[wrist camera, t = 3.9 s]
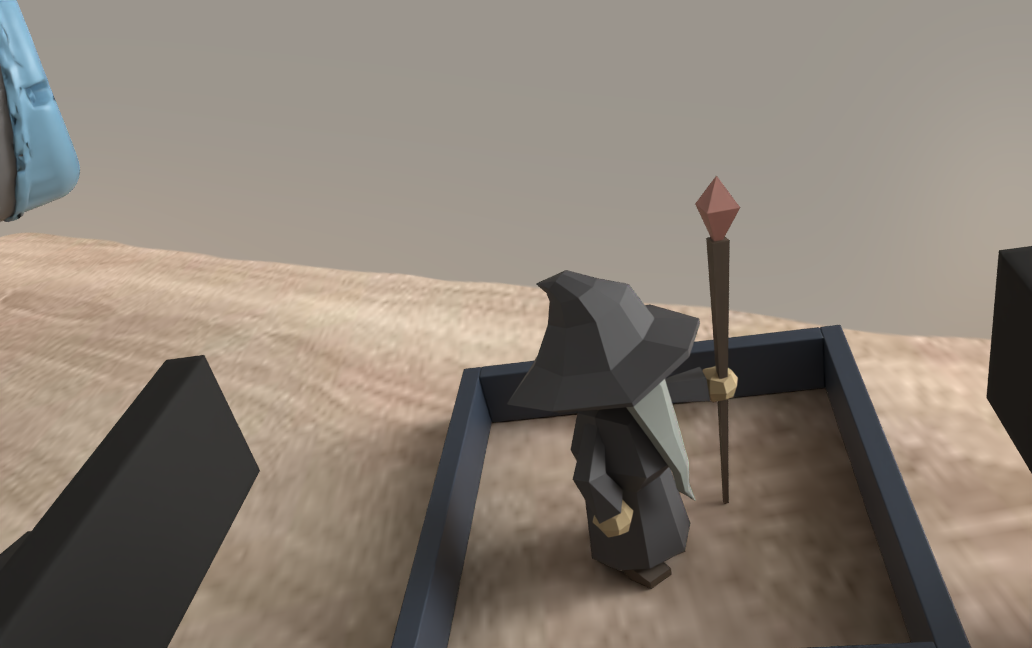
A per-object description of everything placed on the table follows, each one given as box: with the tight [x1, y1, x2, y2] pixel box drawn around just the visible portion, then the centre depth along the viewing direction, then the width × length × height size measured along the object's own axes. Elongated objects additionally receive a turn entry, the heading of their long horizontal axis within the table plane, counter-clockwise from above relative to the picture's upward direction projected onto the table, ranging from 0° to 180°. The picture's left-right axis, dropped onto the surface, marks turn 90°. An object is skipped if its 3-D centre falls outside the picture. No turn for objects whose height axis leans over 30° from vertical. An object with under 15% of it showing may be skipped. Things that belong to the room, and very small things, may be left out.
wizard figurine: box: [507, 176, 740, 588], centre depth 27 cm, size 8×6×12 cm
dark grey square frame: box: [391, 325, 971, 648], centre depth 30 cm, size 16×16×2 cm
